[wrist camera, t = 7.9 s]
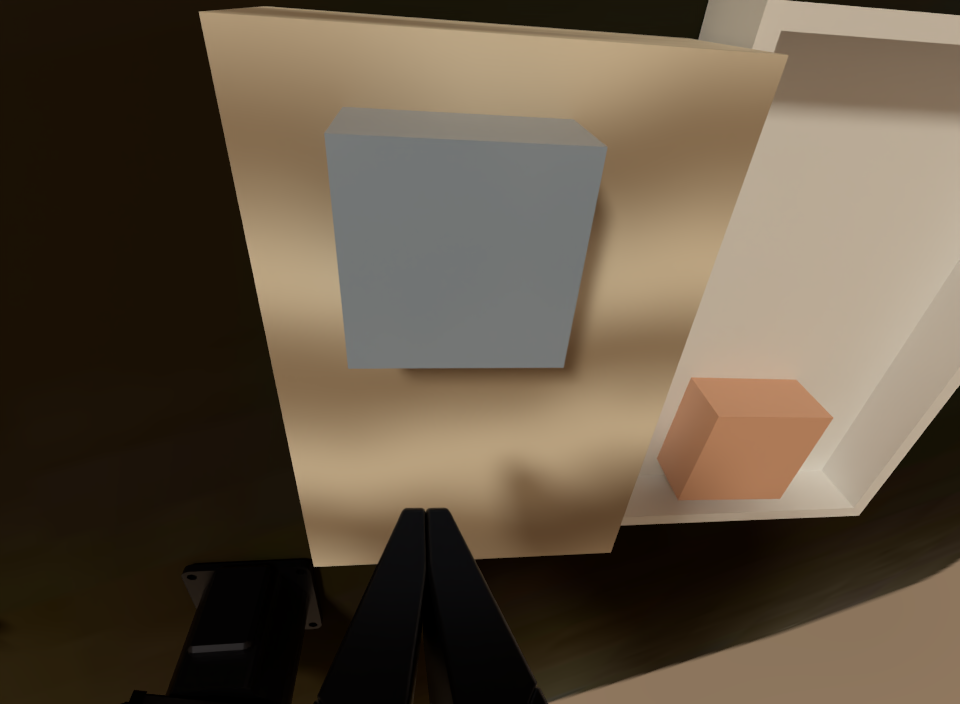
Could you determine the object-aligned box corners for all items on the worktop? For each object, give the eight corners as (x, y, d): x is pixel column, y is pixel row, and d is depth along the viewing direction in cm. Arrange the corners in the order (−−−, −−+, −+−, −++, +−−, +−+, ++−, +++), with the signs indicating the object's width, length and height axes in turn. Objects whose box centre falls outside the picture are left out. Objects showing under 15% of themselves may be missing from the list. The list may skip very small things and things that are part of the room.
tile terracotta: (678, 500, 23) (656, 458, 25) (779, 498, 23) (751, 458, 25) (718, 416, 20) (691, 377, 22) (833, 417, 21) (796, 379, 23)
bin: (819, 469, 27) (858, 515, 25) (582, 476, 26) (599, 526, 23) (1103, 31, 16) (1226, 38, 14) (709, -2, 14) (767, -2, 12)
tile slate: (543, 314, 14) (563, 367, 12) (359, 312, 14) (348, 368, 11) (573, 119, 11) (607, 146, 9) (342, 106, 11) (324, 133, 9)
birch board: (580, 462, 25) (610, 552, 21) (331, 469, 24) (313, 567, 20) (688, 38, 15) (789, 54, 11) (265, 6, 14) (199, 11, 10)
